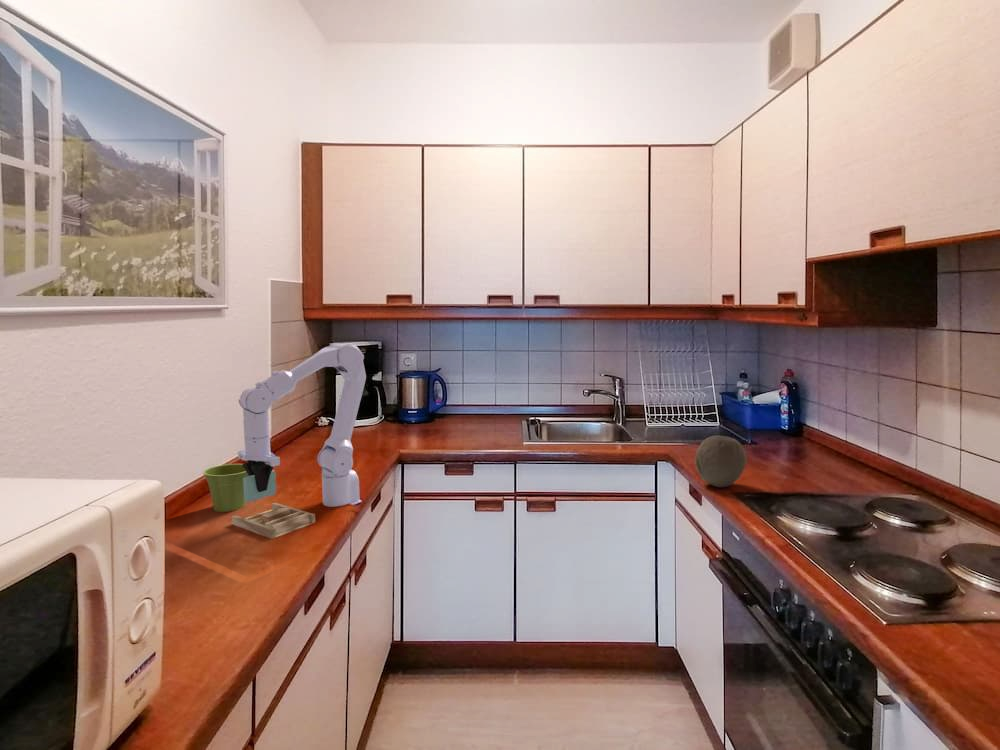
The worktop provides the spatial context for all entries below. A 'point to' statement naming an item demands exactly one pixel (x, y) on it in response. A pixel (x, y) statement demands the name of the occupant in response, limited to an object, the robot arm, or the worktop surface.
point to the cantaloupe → (720, 460)
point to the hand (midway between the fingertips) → (260, 490)
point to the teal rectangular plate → (251, 488)
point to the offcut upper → (276, 514)
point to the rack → (275, 522)
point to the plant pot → (226, 486)
